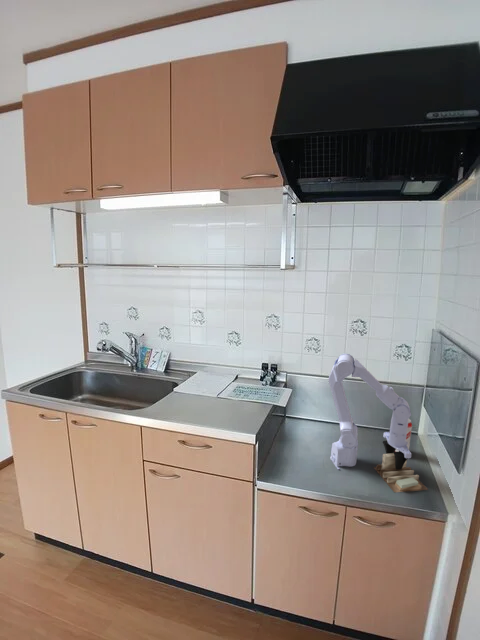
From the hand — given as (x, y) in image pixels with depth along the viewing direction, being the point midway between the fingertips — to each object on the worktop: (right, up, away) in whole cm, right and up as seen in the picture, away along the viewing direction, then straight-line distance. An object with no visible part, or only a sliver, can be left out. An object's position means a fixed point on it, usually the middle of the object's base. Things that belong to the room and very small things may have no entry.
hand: (394, 464), depth 127 cm
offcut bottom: (+1, -5, -8) cm, 9 cm away
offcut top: (+1, -3, -9) cm, 9 cm away
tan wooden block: (0, -3, +1) cm, 3 cm away
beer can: (+8, -2, +13) cm, 15 cm away
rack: (0, -5, -3) cm, 6 cm away
